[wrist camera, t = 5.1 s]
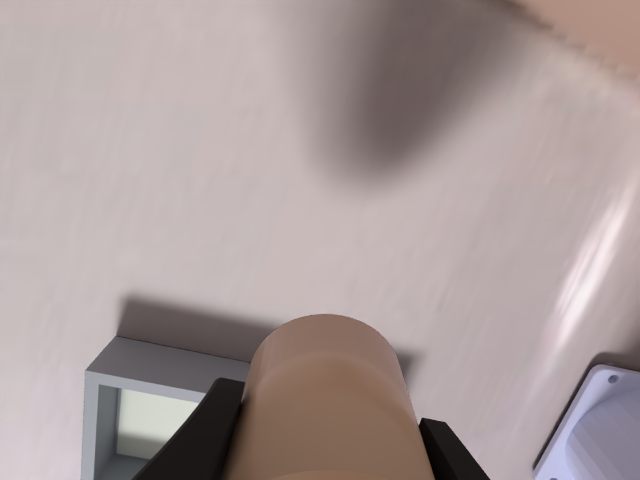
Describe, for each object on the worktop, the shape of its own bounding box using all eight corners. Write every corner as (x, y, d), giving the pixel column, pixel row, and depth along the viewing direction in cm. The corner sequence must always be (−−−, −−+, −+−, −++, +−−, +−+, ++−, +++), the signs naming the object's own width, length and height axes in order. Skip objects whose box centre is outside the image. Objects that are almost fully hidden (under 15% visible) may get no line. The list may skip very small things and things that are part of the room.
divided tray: (399, 392, 20) (410, 432, 18) (361, 495, 23) (365, 543, 20) (115, 336, 19) (85, 370, 17) (107, 450, 22) (80, 495, 19)
